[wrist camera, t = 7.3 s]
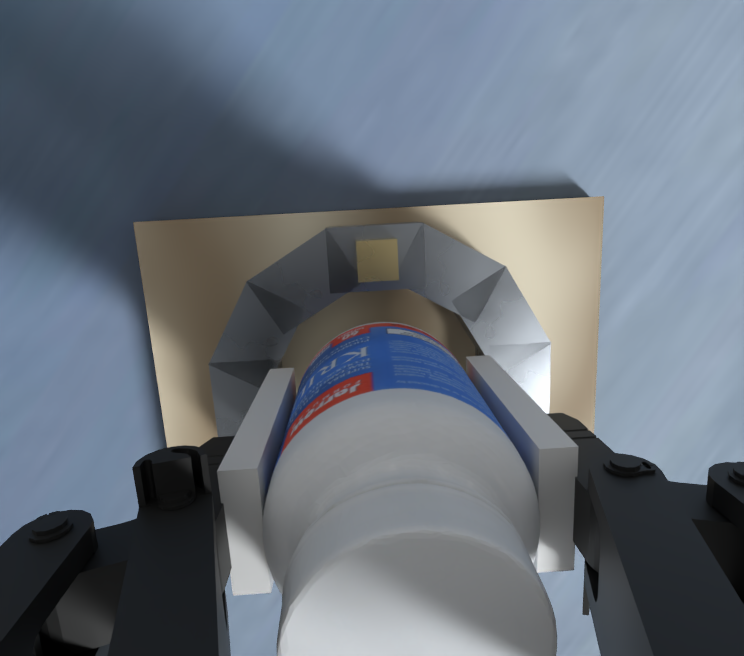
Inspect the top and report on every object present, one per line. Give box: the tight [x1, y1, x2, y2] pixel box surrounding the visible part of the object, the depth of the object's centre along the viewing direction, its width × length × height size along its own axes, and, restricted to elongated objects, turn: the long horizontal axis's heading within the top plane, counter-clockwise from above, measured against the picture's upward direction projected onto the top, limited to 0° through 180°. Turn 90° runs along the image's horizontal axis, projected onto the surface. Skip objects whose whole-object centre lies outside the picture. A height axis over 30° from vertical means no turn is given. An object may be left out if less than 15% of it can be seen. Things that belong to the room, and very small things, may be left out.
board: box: [133, 196, 604, 448], centre depth 19 cm, size 16×12×1 cm
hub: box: [208, 221, 551, 437], centre depth 18 cm, size 11×11×3 cm
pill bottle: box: [263, 322, 557, 656], centre depth 12 cm, size 6×5×10 cm
